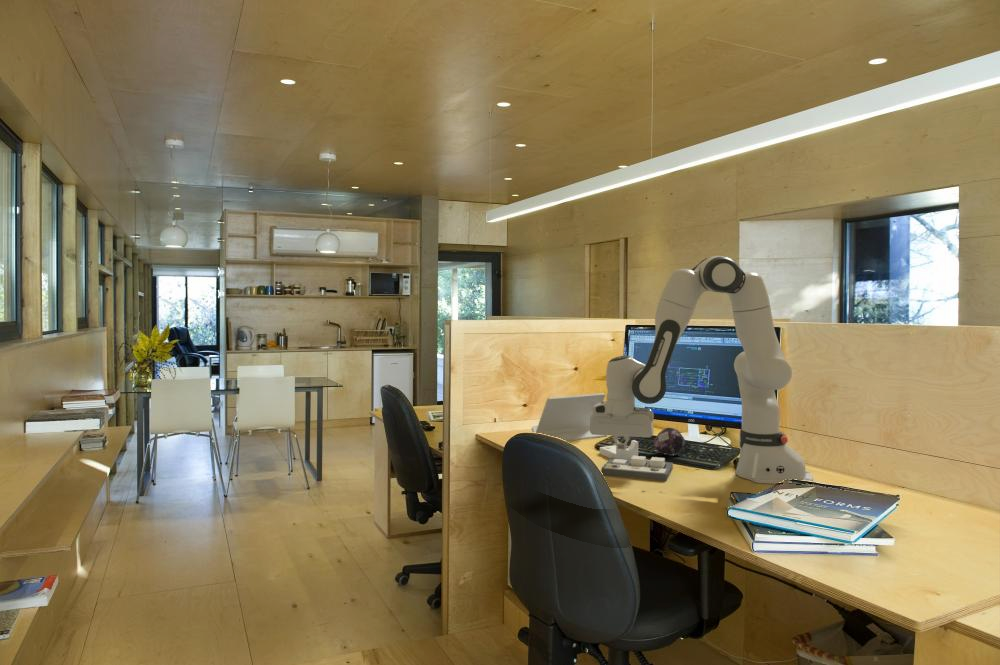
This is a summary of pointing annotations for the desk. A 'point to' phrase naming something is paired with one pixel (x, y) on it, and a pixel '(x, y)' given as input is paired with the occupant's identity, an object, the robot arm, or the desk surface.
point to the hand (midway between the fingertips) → (621, 449)
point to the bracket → (620, 451)
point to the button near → (657, 462)
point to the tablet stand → (569, 417)
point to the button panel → (637, 470)
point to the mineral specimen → (669, 441)
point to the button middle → (638, 461)
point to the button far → (619, 462)
